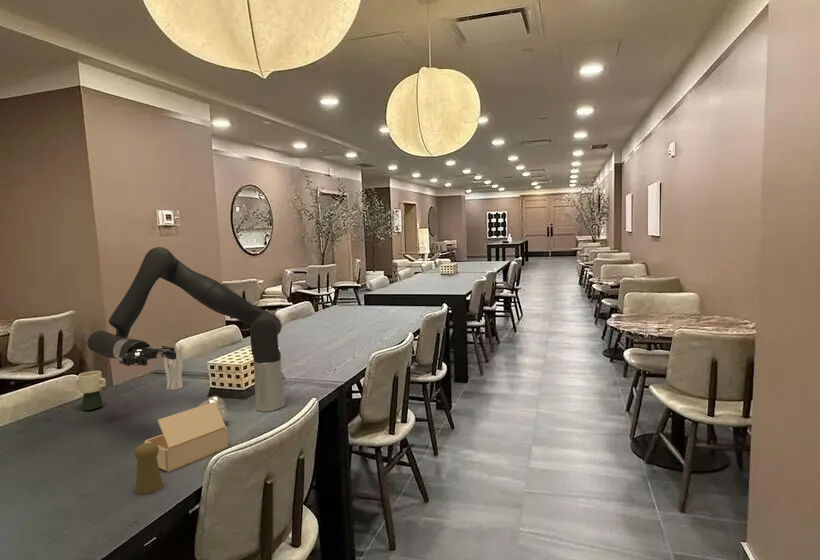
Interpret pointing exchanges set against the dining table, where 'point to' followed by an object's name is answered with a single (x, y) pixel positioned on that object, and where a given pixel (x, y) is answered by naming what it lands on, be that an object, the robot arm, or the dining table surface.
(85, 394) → the trophy cup
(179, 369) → the beer glass
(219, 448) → the carton
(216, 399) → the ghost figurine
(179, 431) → the flap
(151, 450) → the cork
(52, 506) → the dining table surface
